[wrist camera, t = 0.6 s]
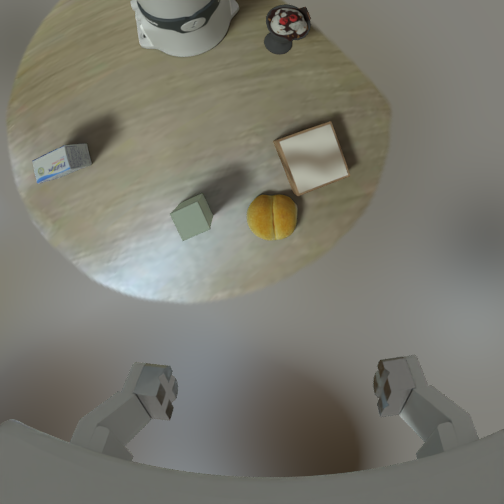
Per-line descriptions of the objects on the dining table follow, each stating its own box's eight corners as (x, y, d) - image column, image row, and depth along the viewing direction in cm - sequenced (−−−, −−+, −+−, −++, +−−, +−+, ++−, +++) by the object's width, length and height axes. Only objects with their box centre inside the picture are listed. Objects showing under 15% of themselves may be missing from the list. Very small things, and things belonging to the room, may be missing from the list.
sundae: (258, 57, 45) (269, 26, 30) (260, 25, 42) (271, -12, 28) (296, 60, 45) (319, 32, 31) (296, 29, 43) (318, -5, 29)
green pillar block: (179, 203, 52) (169, 214, 44) (202, 192, 52) (197, 201, 44) (190, 226, 54) (182, 241, 45) (213, 216, 54) (210, 229, 45)
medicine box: (87, 143, 47) (65, 143, 39) (92, 165, 49) (70, 169, 40) (55, 157, 47) (30, 160, 39) (60, 178, 49) (36, 184, 40)
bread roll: (245, 194, 53) (246, 198, 49) (295, 193, 54) (300, 196, 50) (246, 239, 56) (248, 246, 52) (295, 237, 56) (299, 244, 52)
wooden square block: (272, 141, 50) (276, 140, 46) (323, 122, 50) (331, 121, 46) (293, 192, 54) (298, 196, 50) (342, 173, 53) (350, 176, 49)
